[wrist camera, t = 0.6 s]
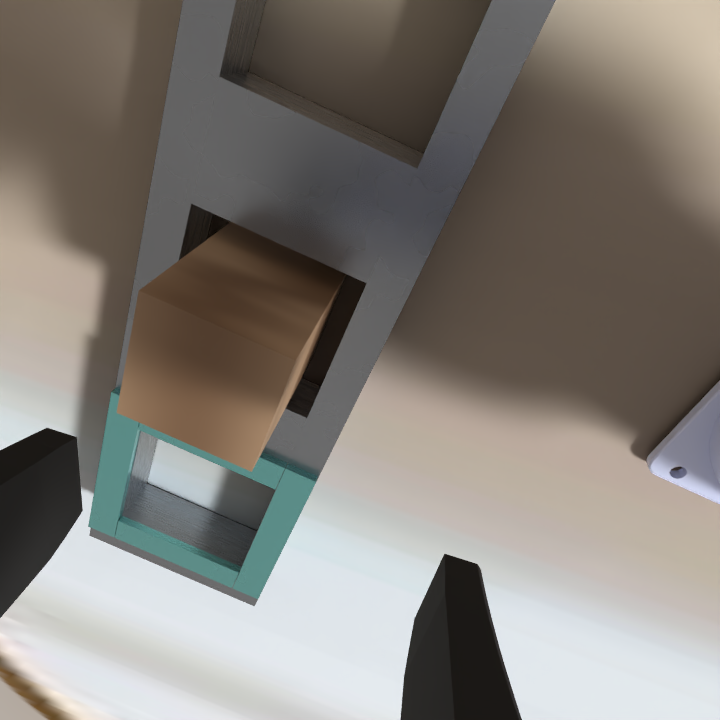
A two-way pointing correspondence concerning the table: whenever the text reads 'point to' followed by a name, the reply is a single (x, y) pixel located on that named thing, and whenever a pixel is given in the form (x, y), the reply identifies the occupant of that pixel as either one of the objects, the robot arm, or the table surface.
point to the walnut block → (226, 342)
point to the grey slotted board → (300, 233)
